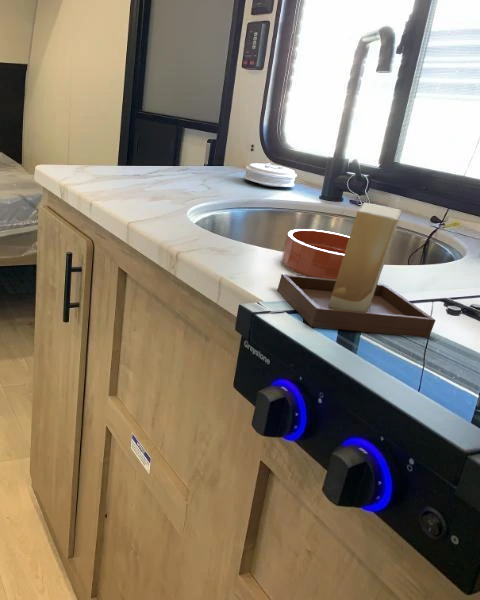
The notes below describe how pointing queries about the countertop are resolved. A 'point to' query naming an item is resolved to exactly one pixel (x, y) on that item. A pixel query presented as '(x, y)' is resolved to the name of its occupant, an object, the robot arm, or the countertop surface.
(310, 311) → the tray
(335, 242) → the bowl
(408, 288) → the countertop surface
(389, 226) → the cosmetic box
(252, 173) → the lid
